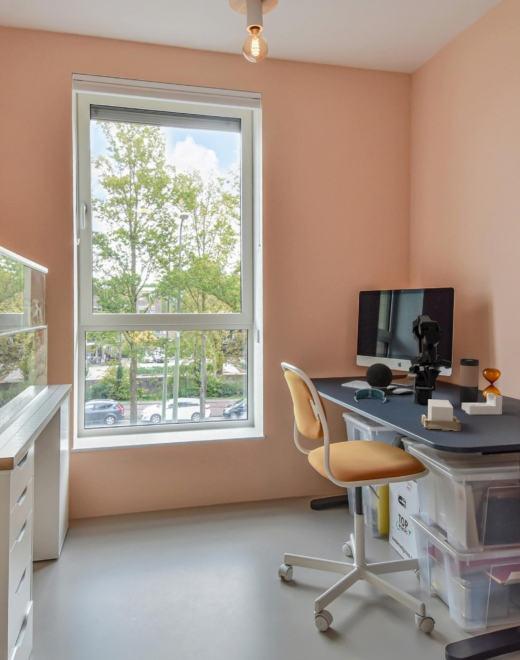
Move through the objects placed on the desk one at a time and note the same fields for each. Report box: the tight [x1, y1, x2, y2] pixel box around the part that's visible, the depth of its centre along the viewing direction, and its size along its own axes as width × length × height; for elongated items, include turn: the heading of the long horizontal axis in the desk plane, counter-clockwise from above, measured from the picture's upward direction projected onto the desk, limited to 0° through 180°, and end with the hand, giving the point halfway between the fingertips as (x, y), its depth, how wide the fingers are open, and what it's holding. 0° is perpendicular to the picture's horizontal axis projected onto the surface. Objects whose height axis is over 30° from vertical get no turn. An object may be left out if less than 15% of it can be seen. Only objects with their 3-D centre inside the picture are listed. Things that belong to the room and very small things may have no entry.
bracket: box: [461, 392, 503, 415], centre depth 191 cm, size 13×7×8 cm, turn 91°
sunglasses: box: [353, 387, 387, 404], centre depth 216 cm, size 14×15×5 cm
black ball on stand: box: [365, 362, 394, 395], centre depth 236 cm, size 13×13×15 cm
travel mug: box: [458, 358, 480, 406], centre depth 206 cm, size 8×8×20 cm
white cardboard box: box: [427, 398, 454, 421], centre depth 170 cm, size 14×7×8 cm, turn 165°
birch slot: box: [421, 414, 462, 432], centre depth 167 cm, size 10×12×3 cm
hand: (430, 388), depth 188 cm, fingers closed
